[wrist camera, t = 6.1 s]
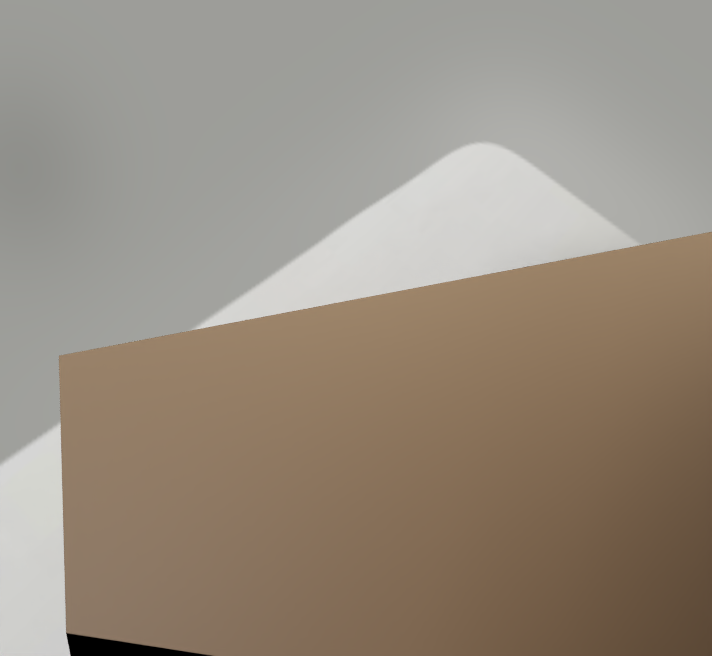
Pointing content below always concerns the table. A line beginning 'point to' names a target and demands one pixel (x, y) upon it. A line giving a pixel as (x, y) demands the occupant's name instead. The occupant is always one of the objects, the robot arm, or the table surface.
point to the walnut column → (405, 472)
